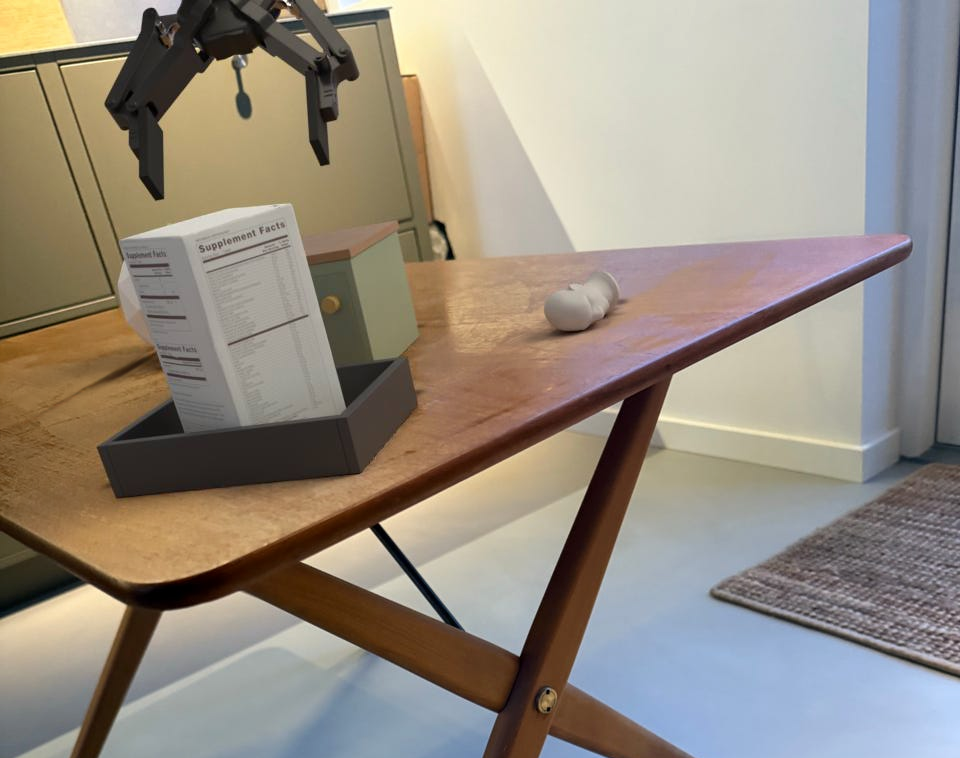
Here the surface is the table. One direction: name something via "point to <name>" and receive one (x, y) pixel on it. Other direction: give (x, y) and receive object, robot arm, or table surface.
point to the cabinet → (362, 292)
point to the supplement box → (235, 318)
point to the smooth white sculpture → (582, 302)
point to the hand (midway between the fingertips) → (234, 171)
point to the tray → (263, 439)
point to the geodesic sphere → (132, 305)
